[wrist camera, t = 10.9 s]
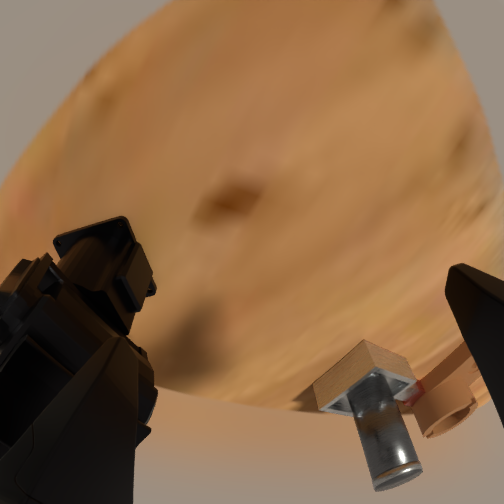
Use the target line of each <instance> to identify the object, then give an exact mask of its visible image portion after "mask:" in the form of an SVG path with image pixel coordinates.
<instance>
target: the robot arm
mask: <svg viewBox="0 0 504 504" xmlns="http://www.w3.org/2000/svg"><path fill="white" fill-rule="evenodd" d="M119 222H122V223H123V224H124V226H120V225H119ZM58 241H60V242H61V244H60V243H59V242H58ZM53 244H54V247H55V249H56V251H57V253H58V255H59V257H60V259H61V260H60V261H59V262H58V264H57V265H56V264H55V263H54V262H53V261H52V260H53V258H52V257H51V256H50V255H49V254H48V253H45V254H44V255H43V256H42V257H41V258H40V259H39V257H37V258H36V259H35V260H33V261H30V260H26V259H22V260H21V261H20V262H19V263H18V264H17V265H16V266H15V268H14V269H13V270H12V271H11V272H10V274H9V275H8V276H7V277H6V279H5V280H4V281H3V283H2V284H1V285H0V504H133V486H134V485H133V484H134V483H133V482H134V461H135V449H136V447H137V446H138V445H139V444H140V443H141V442H142V441H143V440H144V439H145V438H146V437H147V436H148V435H149V434H150V433H151V428H150V427H148V426H146V424H147V423H148V421H149V419H150V417H151V415H152V412H153V409H154V407H155V404H156V400H157V396H158V390H157V389H156V388H155V387H154V371H153V369H152V367H151V365H150V363H149V361H148V358H147V352H146V351H145V350H143V349H142V348H141V347H138V346H136V345H135V344H134V343H133V342H132V341H131V340H130V339H129V338H128V337H126V335H129V332H130V329H131V326H132V322H133V319H134V316H135V313H136V312H140V311H141V309H142V306H143V303H144V300H145V297H149V296H153V295H155V293H156V290H157V287H156V284H155V282H154V280H153V278H152V275H153V272H152V269H151V267H150V265H149V262H148V260H147V258H146V255H145V253H144V251H143V248H142V246H141V244H140V243H138V242H137V241H136V238H135V236H134V233H133V231H132V229H131V226H130V224H129V221H128V219H127V218H126V217H124V216H118V217H115V218H111V219H108V220H105V221H101V222H98V223H95V224H91V225H88V226H85V227H82V228H79V229H75V230H72V231H69V232H66V233H63V234H60V235H57V236H56V237H55V238H54V240H53ZM148 288H151V289H152V290H149V289H148ZM445 296H446V299H447V301H448V303H449V305H450V308H451V310H452V312H453V315H454V317H455V319H456V322H457V324H458V326H459V329H460V331H461V334H462V336H463V338H464V341H465V343H466V345H467V347H468V349H469V351H470V353H471V355H472V357H473V359H474V361H475V363H476V365H477V367H478V369H479V371H480V373H481V375H482V377H483V380H484V382H485V384H486V386H487V388H488V391H489V393H490V395H491V398H492V400H493V402H494V405H495V407H496V409H497V412H498V414H499V417H500V419H501V422H502V425H503V427H504V281H502V280H500V279H498V278H496V277H494V276H491V275H489V274H487V273H485V272H482V271H480V270H478V269H476V268H473V267H471V266H469V265H466V264H464V263H460V264H456V265H453V266H451V267H450V269H449V271H448V276H447V281H446V286H445Z"/></svg>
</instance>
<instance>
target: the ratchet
mask: <svg viewBox="0 0 504 504" xmlns="http://www.w3.org/2000/svg"><path fill="white" fill-rule="evenodd" d="M372 376H383V377H385V378H386V380H387V382H388V384H389V387H390V389H391V391H392V394H393V396H394V398H395V399H397V400H401V401H403V403H404V405H406V406H411V407H413V406H414V404H415V403H416V401H417V400H418V399H419V398H420V397H421V396H422V395H423V394H424V393H426V392H425V390H424V388H423V385H422V383H421V381H420V380H417V379H416V378H415V375H414V373H413V371H412V369H411V367H410V365H409V363H408V361H407V359H406V358H405V357H403V356H400V355H398V354H396V353H393V352H391V351H389V350H387V349H384V348H382V347H380V346H377V345H375V344H373V343H371V342H368V341H366V340H363V341H362V342H361V343H359V344H358V345H357V346H356V347H355V348H354V349H353V350H352V351H351V352H350V353H348V354H347V355H346V356H345V357H344V358H343V359H342V360H340V361H339V362H338V363H337V364H336V365H335V366H333V367H332V368H331V369H330V370H329V371H328V372H326V373H325V374H324V375H323V376H322V377H320V378H319V379H318V380H317V381H315V382H314V383H313V388H314V392H315V396H316V400H317V405H318V409H319V410H320V411H325V412H330V413H335V414H340V415H345V416H351V417H353V414H352V411H351V408H350V404H349V401H348V398H347V393H349V392H350V391H351V390H352V389H354V388H355V387H356V386H358V385H359V384H360V383H361V382H363V381H364V380H365V379H366V378H368V377H372Z"/></svg>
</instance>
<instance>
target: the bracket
mask: <svg viewBox="0 0 504 504" xmlns="http://www.w3.org/2000/svg"><path fill="white" fill-rule="evenodd" d="M480 376H481V373H480V371H479V369H478V367H477V365H476V363H475V361H474V359H473V357H472V355H471V353H470V351H469V349H468V347H467V345H466V343H465V341H464V342H463V343H462V344H461V345H460V346H459V347H458V348H456V349H455V350H454V351H453V352H452V353H451V354H450V355H449V356H448V357H447V358H446V359H444V360H443V361H442V362H441V363H440V364H439V365H438V366H437V367H435V368H434V369H433V370H432V371H431V372H430V373H428V374H427V375H426V376H425V377H424V378H422V379H421V380H420V381H421V383H422V385H423V388H424V390H425V392H426V393H424V394H423V395H422V396H421V397H420V398H419V399H418V400H417V401H416V403H415V404H414V406H413V407H411V408H412V411H413V413H414V415H415V418H416V420H417V422H418V425H419V427H420V430H421V432H422V435H423V437H425V436H426V437H427V438H433V437H436V436H439V435H441V434H444V433H445V432H447V431H449V430H451V429H453V428H454V427H456V426H458V425H459V424H460V423H462V422H463V421H464V420H466V419H467V418H468V417H469V416H470V415H471V414H472V413H473V412H474V411H475V409H476V408H477V406H478V403H477V401H476V399H475V397H474V395H473V393H472V392H471V390H470V388H469V386H470V385H471V384H472V383H473V382H474V381H475V380H477V379H478V378H479V377H480Z"/></svg>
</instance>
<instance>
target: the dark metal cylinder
mask: <svg viewBox="0 0 504 504" xmlns="http://www.w3.org/2000/svg"><path fill="white" fill-rule="evenodd" d="M347 398H348V401H349V404H350V408H351V411H352V414H353V417H354V420H355V424H356V427H357V430H358V434H359V437H360V440H361V443H362V447H363V450H364V454H365V457H366V461H367V464H368V467H369V471H370V474H371V478H372V484H373V487H374V490H375V491H384V490H388V489H391V488H394V487H397V486H399V485H402V484H404V483H406V482H408V481H410V480H412V479H414V478H416V477H417V476H419V475H420V474H421V473H422V472H423V471H422V466H421V463H420V461H419V460H418V457H417V454H416V452H415V449H414V446H413V444H412V441H411V439H410V436H409V433H408V431H407V428H406V426H405V423H404V421H403V418H402V416H401V413H400V411H399V408H398V406H397V403H396V401H395V398H394V396H393V394H392V391H391V389H390V387H389V384H388V382H387V380H386V378H385V377H383V376H372V377H368V378H366V379H365V380H364V381H363V382H361V383H360V384H359V385H358V386H356V387H355V388H354V389H352V390H351V391H350V392H349V393H347Z"/></svg>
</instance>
